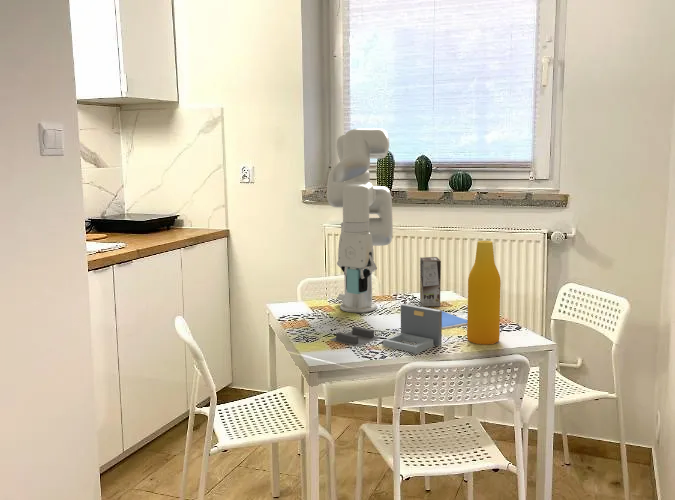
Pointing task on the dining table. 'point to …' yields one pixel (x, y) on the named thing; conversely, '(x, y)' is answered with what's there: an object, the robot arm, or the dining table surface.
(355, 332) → the grey ridged plate
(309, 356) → the dining table surface
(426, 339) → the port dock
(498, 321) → the beer bottle
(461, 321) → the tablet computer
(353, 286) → the plug
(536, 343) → the dining table surface
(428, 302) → the coffee box
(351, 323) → the dining table surface
